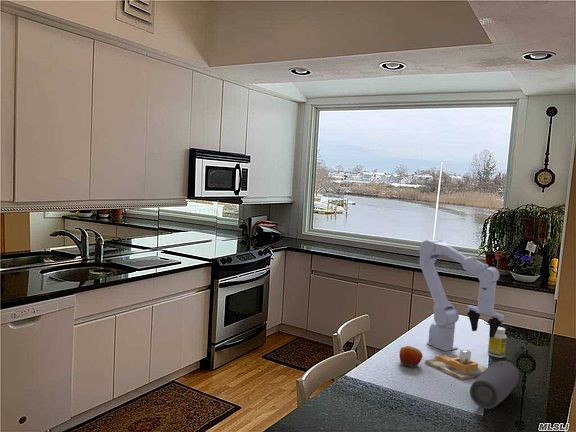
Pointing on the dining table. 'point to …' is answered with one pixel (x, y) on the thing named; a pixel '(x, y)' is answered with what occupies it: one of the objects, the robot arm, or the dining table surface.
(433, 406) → the dining table surface
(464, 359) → the pin
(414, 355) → the fruit
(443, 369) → the rosette board
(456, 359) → the bracket
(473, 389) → the bluetooth speaker
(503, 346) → the pill bottle
